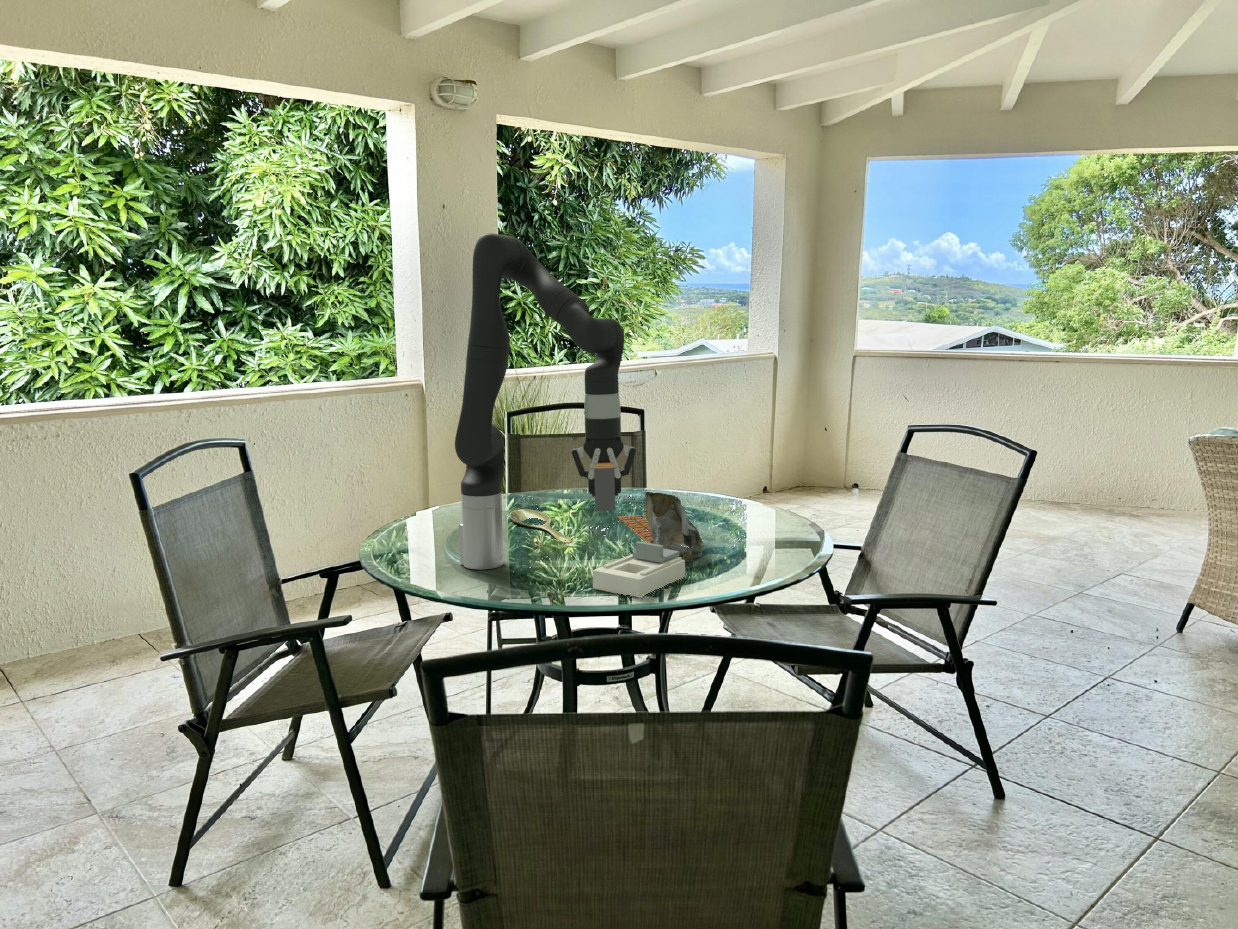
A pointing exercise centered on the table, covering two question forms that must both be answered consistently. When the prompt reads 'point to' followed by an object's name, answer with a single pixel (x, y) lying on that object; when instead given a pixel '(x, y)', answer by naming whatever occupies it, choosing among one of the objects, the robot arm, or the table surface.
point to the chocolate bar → (638, 526)
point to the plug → (604, 486)
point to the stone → (672, 525)
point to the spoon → (526, 514)
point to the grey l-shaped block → (654, 552)
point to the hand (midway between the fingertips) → (604, 495)
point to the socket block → (637, 575)
